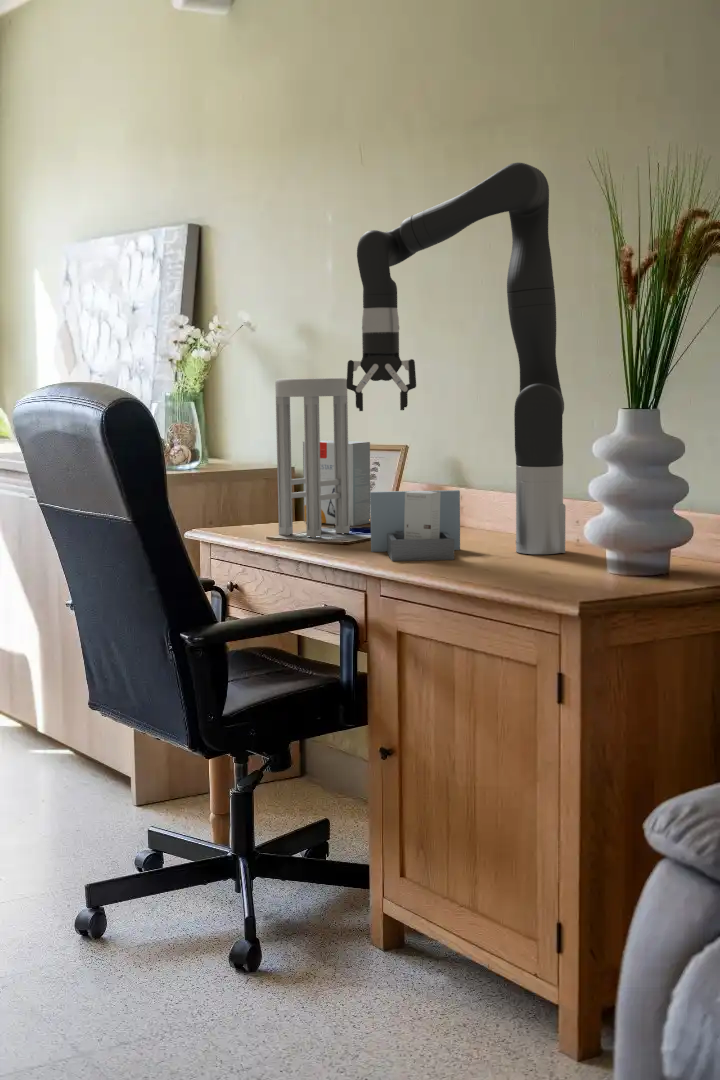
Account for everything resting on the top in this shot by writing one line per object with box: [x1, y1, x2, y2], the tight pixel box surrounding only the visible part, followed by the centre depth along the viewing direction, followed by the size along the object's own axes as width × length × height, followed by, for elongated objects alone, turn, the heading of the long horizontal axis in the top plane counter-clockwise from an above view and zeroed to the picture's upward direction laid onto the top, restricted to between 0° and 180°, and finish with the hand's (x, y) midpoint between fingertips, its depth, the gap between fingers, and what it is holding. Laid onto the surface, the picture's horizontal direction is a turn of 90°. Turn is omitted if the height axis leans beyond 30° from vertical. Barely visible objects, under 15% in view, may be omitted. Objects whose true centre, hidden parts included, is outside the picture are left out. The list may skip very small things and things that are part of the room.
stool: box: [275, 377, 351, 537], centre depth 293 cm, size 16×16×35 cm
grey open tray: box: [386, 530, 455, 562], centre depth 256 cm, size 12×14×4 cm
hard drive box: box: [302, 439, 371, 527], centre depth 316 cm, size 16×8×20 cm, turn 53°
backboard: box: [370, 489, 461, 553], centre depth 263 cm, size 18×2×12 cm, turn 93°
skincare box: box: [404, 490, 441, 539], centre depth 254 cm, size 6×4×12 cm
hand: (381, 410), depth 268 cm, fingers open, 8 cm apart
